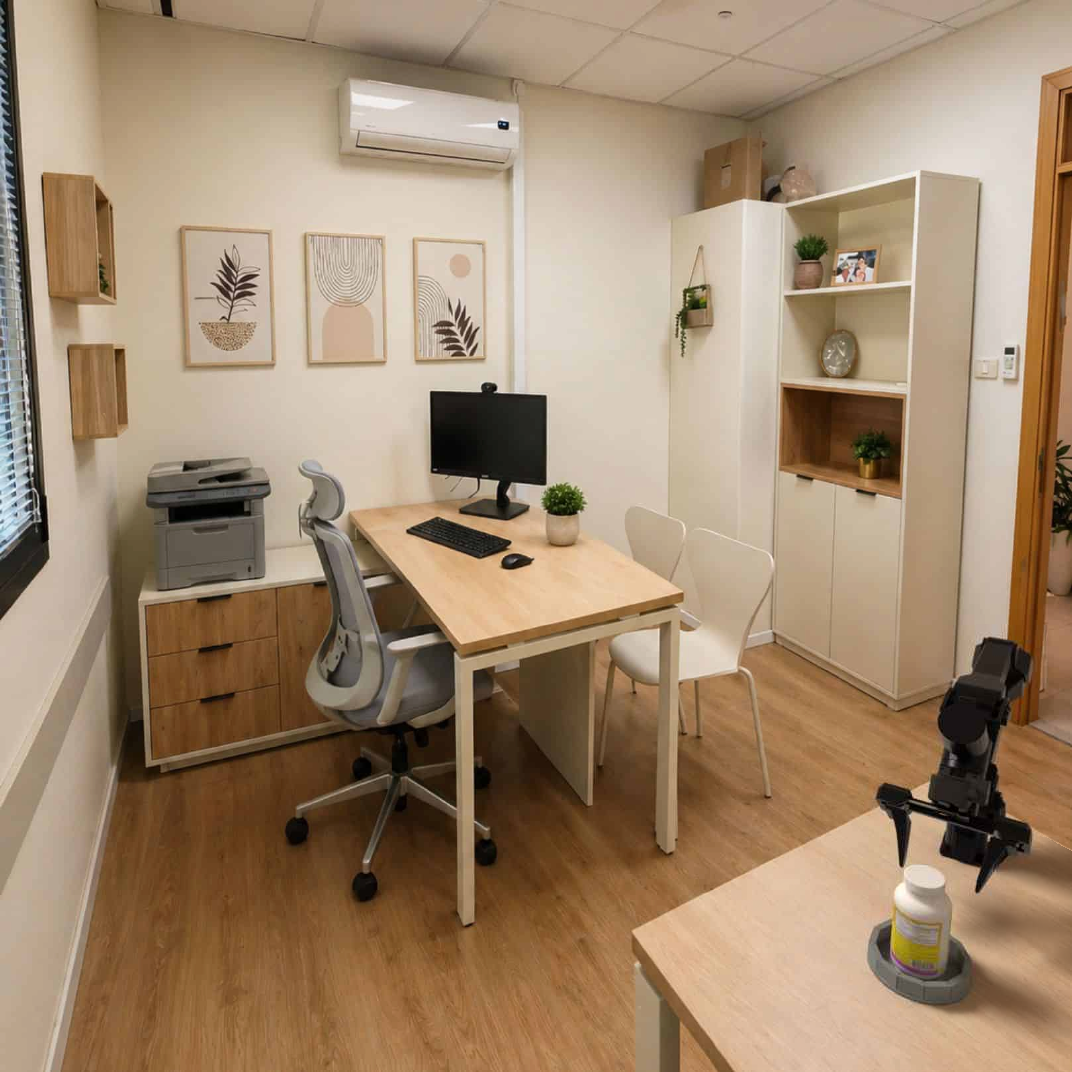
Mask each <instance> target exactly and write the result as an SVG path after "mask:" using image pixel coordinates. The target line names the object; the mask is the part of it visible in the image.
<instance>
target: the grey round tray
mask: <svg viewBox="0 0 1072 1072" xmlns="http://www.w3.org/2000/svg"><path fill="white" fill-rule="evenodd" d="M891 931H892V918H889V919H886V920H885V921H883V922H881V923H878V924H877V925H874V926H873V928H872V931H871V933H870V935H869V936H870V937H869V939H868V943H867V944H868V945H867V955H866V956H867V957H866V958H867V962H868V965H869V968H870V971H872V973H873V974H874V976H875V978H876V979H878V980H879V982H880V983H882V984H883V985H884V986H885V987H886V988H888V989H889V990H890V991H892V992H894V994H897V995H899V996H901V997H903V998H905V999H907V1000H910V1001H913V1002H915V1003H920V1004H925V1005H931V1006H945V1005H951V1004H954V1003H957V1002H959V1001H961V1000H963V999H964V998H965V997H966V996H967V995H968V994H969V992H970V989H971V986H972V966H973V965H972V964H973V959H972V958H971V956H970V955H969V953H968V951H967V949H966V948H965V947H964V945H963V943H962V942H961V941H960V940H959V939H957V938H956V937H954V936H953V935H951V934H950V940H949V951H948V962H947V969H946V971H945V973H944V974H943V975H942V976H940V977H939V978H936V979H932V980H924V979H918V978H915V977H912V976H910V975H908V974H906V973H904V972H903V971H901V970H900V969H899V968H898V967H897V966H896V965H895V964H894V962H893V960H892V958H891V954H890V945H891Z"/></svg>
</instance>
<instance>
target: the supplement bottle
mask: <svg viewBox="0 0 1072 1072" xmlns="http://www.w3.org/2000/svg"><path fill="white" fill-rule="evenodd" d="M946 880H947V879H946V877H945V876H944V874H943V873H942V872H941V871H939V870H938V869H937V868H934V867H932V866H930V865H926V864H911V865H908V866H907V867H905V868H904V872H903V881H902V882H901V883H900V884H899V885H897V886H896V887H895V890H894V893H893V903H892V904H893V906H892V917H891V919H892V931H891V945H890V954H891V958H892V960H893V962H894V964H895V965H896V966H897V967H898V968H899V969H900V970H901V971H903V972H904V973H906V974H908V975H910V976H912V977H915V978H918V979H924V980H932V979H936V978H939V977H940V976H942V975H943V974H944V973H945V971H946V969H947V962H948V951H949V940H950V935H951V927H952V916H953V903H952V900H951V898H950V896H949V895H948V894H947V892H946V883H947V882H946Z"/></svg>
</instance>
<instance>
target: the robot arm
mask: <svg viewBox="0 0 1072 1072" xmlns="http://www.w3.org/2000/svg"><path fill="white" fill-rule="evenodd" d="M971 661H972V662H971V668H972V671H971V672H970V673H969V674H964V675H961V676H958V678H957V679H956V680H955V682H954V683H953V686H949V687H948V689H947V691H946V694H945V696H944V698H943V700H942V702H941V704H940V707H939V714H938V716H937V722H936V723H937V727H938V731H939V735H940V738H941V741H942V744H943V750H942V754H941V759H940V761H939V766H938V771H937V773H936V772H935V773H931V774H930V780H929V786H928V792H927V798H928V800H930V801H929V802H928V801H925V800H922V799H919V798H915V797H914V795H913V794H912V792H911V789H909V788H906V787H902V786H899V785H895V784H892V783H888V782H883V783H882V784H880V785H879V786H878V788H877V792H876V796H875V801H876V803H877V804H878V806H879V808H880V810H882V811H884V812H885V813H886V815H887V816H888V818H889V819H891V820H892V821H893V823H894V827H895V833H896V842H897V843H896V844H897V854H898V855H897V856H898V864H899V867H900V868H902V869H903V868H904V867H905V864H906V862H907V857H908V851H909V850H908V849H909V841H910V836H911V831H912V820H911V818H910V815H912V813H915V814H919V815H922V816H925V817H929V818H931V819H935V820H938V821H941V822H945V823H946V828H945V831H944V833H943V837H942V840H941V843H940V847H939V852H938V854H940V855H942V856H945V857H947V858H948V857H949V858H953V859H956V860H959V861H964V862H967V863H969V864H973V865H976V866H977V865H978V866H980V870H979V871H978V872H979V873H978V876H977V878H976V883H975V888H974V893H975V894H980V893H981V891H982V889H983V888H984V887H985V885H986V884H987V883H988V881H989V880H990V878H991V877H992V875H993V874H994V873H995V871H997V868H999V866H1000V865H1001V864H1002V863H1003V862H1004V861H1006V859H1007V858H1009V857H1011V858H1018V856H1019V853H1020V854H1024V855H1031V850H1032V843H1033V829H1032V828H1031V826H1030V825H1029V823H1028V822H1025V821H1021V820H1019V819H1018V820H1017V819H1015V818H1010V817H1007V803H1006V802H1005V801H1004V795H1003V792H1002V791H1000V776H999V772H998V767H997V764H995V761H996V757H997V752H998V748H999V744H1000V739H1001V738H1002V737H1001V736H1002V733H1003V728H1004V726H1005V727H1007V726H1008V724H1009V723H1010V722H1009V721H1010V720H1011V717H1012V715H1013V706H1011V703H1013V702H1014V701H1016V700H1018V699H1019V698H1021V697H1022V696H1023V695H1024V691H1025V688H1026V687H1025V686H1026V684H1028V685H1029V684H1031V681H1032V677H1033V670H1034V669H1033V668H1034V662H1033V655H1031V654H1030V653H1028V652H1027V651H1026V650H1024V649H1023V648H1020V643H1019V642H1015V641H1014V640H1012V639H1006V638H1001V637H995V636H994V637H993V636H988V637H983V638H982V642H981V643H979V644H976V645H975V648H974V652H973V657H972V660H971ZM989 836H990V838H989ZM988 839H989V841H988Z"/></svg>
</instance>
